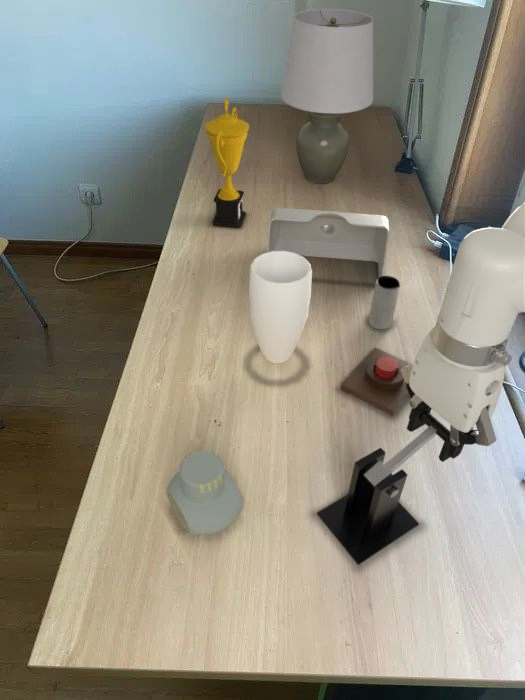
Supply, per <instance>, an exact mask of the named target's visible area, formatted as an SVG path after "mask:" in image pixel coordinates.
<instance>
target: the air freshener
mask: <svg viewBox="0 0 525 700" xmlns="http://www.w3.org/2000/svg"><path fill="white" fill-rule="evenodd" d="M165 491H166V496H167V498H168V501H169V504H170V506H171V508H172V509H173V512H174V513H175V515H176V517H177V518H178V520H179V522H180V524H181V525H182V527H183V528H184V530H185V531H186V532H187V533H188V534H191V535H194V536H210V535H215V534H218V533H221V532H222V531H224V530H226V529H228V528H229V527H230V526H231V525H232V524H233V523H234V522H236V520H237V519H238V518H239V516H240V514H241V512H242V509H243V507H244V498H243V495H242V492H241V491H240V488H239V487H238V485H237V483H236V481H235V480H234V478H233V477H232V475H231V474H230V472H229V471H228V470H227V469H226V468H225V463H224V460H223V458H221V457H220V455H218V454H217V453H215V452H213V451H210V450H206V449H205V450H197V451H194V452H191V453H189V454H188V455H187V456H185V457H184V459H183V460H182V461H181V463H180V466H179V471H178V472H177V473H176V474H174V476H173V477H171V479H170V481H169V483H168V485H167V487H166V489H165Z"/></svg>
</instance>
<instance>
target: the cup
mask: <svg viewBox="0 0 525 700" xmlns="http://www.w3.org/2000/svg"><path fill="white" fill-rule="evenodd" d="M312 277H313V269H312V265H311V263H310V262H309V261H308V260H307V259H306V258H305V256H303V255H298V254H296V253H293V252H287V251H271V252H267V251H266V252H263V253H261V254H260V255H257V257H255V258H254V259H253V261H252V262H251V264H250V266H249V280H248V281H249V284H248V285H249V286H248V295H249V313H250V314H249V315H250V321H251V326H252V330H253V333H254V337H255V340H256V343H257V345H258V347H259V350H260V352H261V353H262V355H263V357H264V359H266V361H268V362H269V363H273V364H282V363H285V362H287V361H288V360H289V359H290V357H292V355H293V353H294V352H295V350H296V348H297V346H298V344H299V342H300V340H301V337H302V335H303V333H304V329H305V326H306V323H307V321H308V317H309V311H310V305H311V297H312V280H313V279H312Z"/></svg>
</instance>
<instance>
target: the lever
mask: <svg viewBox="0 0 525 700" xmlns="http://www.w3.org/2000/svg"><path fill="white" fill-rule="evenodd" d="M419 419H420V420H421V421H422V422H424V423H425V426H427V428H425V429H424V430H423V431H422V432H421V433H420V434H419V435H417V436H416V437H415V438H413V440H412V441H410V442H409V443H408V444H407V445H405V447H404V448H402V449H400V451H399V452H397V453H396V454H395V455H394V456H392V458H390V459H389V460H388V461H387V462H385V464H384V462H383V463H382V462H381V461H379V462H377V463H376V464H375V465H374V466H373V467H372V468H370V469H369V470H368V471H367V472H366V473H364V477H365V479H366V481H367V482H368V483H369V484H370V485H371V487H372V488H373V489H374V490H375V487H376V485H377V484H378V483H380V482H382V481H383V480H385V479H387V478H388V477H390V476H392V475H393V472H395V471H396V470H397V469H399V467H401V466H402V465H403V464H404V463H405V462H407V461H408V460H409V459H410V458H411V457H412V456H413V455H414V454H416V453H417V452H418V451H420V450H421V449H422V448H423V447H424V446H425V445H426V444H428V443H429V442H430V441H431V440H432V439H433V438H435V437H436V436H437V437H439V438H440V439H441V440H442V441H443V442H444V441H445V440H446V439H447V438H449V437H450V429H448V428H447V427H446V426H445V425H444V424H442V423H441V422H440V421H439V420H438V419H437V418H436V417H435V416H434V415H432V413H431V412H430V413H429V412H428V411H424V412H423V413H422V414H421V415H420V417H419Z"/></svg>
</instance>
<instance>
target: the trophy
mask: <svg viewBox="0 0 525 700" xmlns="http://www.w3.org/2000/svg"><path fill="white" fill-rule="evenodd" d="M228 110H229V97H228V96H226V97H225V99H224V111H225V113H223V114H220V115H219V116H218V117H217V118H214V119H213V118H212V119H211V120H209V121H207V122H206V123H205V124H204V129H205V131H206V136H207V138H208V140H209V141H210V146H211V150H212V153H213V155H214V156H213V157H214V160H215V163H216V165H217V169H218V170H219V171H220V173H222V176H223V177H225V178H224V179H225V185H224V186H222V187H221V188H219V189H218V190H217V192H216V194H215V195H214V198H213V202H214V203H215V212H216V213H215V215H214V218H213V220H212V226H214V227H220V228H231V229H240V228H241V227H243V224H244V221H245V219H246V216H247V212H246V211H244V210H243V197H244V194H245V192H244V190H238V189H236V187H235V186H233V184H232V183H233V182H232V176H233V175H234V173H236V172H237V170H238V169H239V165H240V162H241V157H242V154H243V150H244V147H245V142H246V140H247V137H248V131H249V129H250V124H249V123H248V122H246V121H245V120H243V119H240V118H238V109H237V107H235V106H233V107H232V109H231V113H228Z"/></svg>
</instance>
